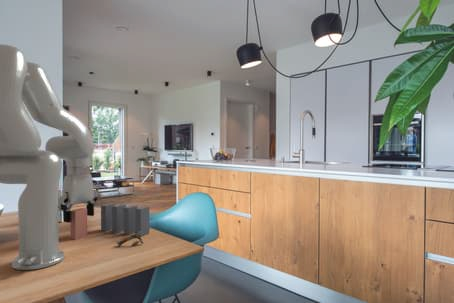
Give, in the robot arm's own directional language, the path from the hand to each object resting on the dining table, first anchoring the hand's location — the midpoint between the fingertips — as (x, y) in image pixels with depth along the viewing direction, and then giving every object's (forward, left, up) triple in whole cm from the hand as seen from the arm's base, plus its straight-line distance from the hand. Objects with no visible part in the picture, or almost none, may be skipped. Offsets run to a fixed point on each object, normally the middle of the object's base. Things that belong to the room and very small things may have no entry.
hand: (79, 218), depth 105 cm
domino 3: (+5, -13, -7) cm, 15 cm away
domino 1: (0, 0, -7) cm, 7 cm away
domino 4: (+2, -17, -7) cm, 19 cm away
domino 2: (+8, -8, -7) cm, 13 cm away
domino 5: (0, -22, -7) cm, 23 cm away
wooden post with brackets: (-12, -20, -7) cm, 24 cm away
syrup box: (+26, +17, -7) cm, 32 cm away
